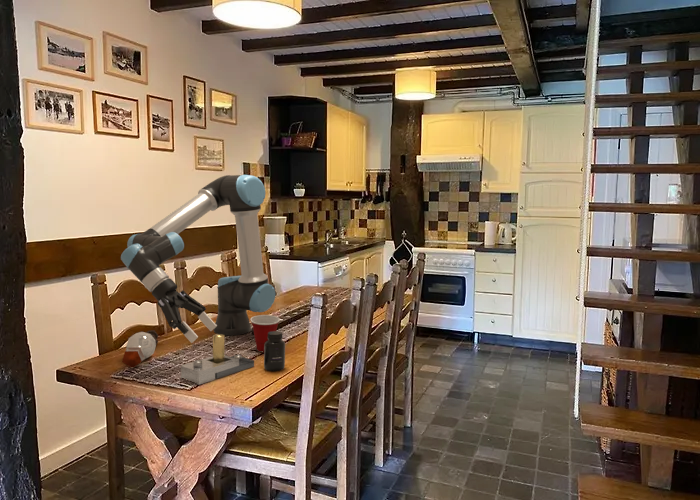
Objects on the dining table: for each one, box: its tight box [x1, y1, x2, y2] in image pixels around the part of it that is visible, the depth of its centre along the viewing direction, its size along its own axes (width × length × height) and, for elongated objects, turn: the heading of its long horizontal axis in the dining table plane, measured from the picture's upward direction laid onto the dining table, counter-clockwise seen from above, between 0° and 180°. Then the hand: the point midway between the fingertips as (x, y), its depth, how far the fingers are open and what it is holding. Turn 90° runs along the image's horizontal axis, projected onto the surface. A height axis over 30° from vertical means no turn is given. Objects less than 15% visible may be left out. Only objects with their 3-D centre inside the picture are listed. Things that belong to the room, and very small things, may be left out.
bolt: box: [146, 330, 159, 346], centre depth 192 cm, size 6×5×15 cm
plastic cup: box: [249, 314, 281, 353], centre depth 187 cm, size 11×11×12 cm
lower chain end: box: [215, 353, 255, 380], centre depth 165 cm, size 16×9×4 cm, turn 143°
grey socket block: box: [180, 354, 239, 386], centre depth 160 cm, size 16×9×6 cm, turn 143°
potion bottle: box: [121, 331, 157, 368], centre depth 172 cm, size 9×10×15 cm
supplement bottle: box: [263, 330, 286, 372], centre depth 167 cm, size 7×7×12 cm
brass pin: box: [212, 333, 226, 364], centre depth 162 cm, size 4×4×12 cm
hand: (204, 334), depth 162 cm, fingers open, 13 cm apart
